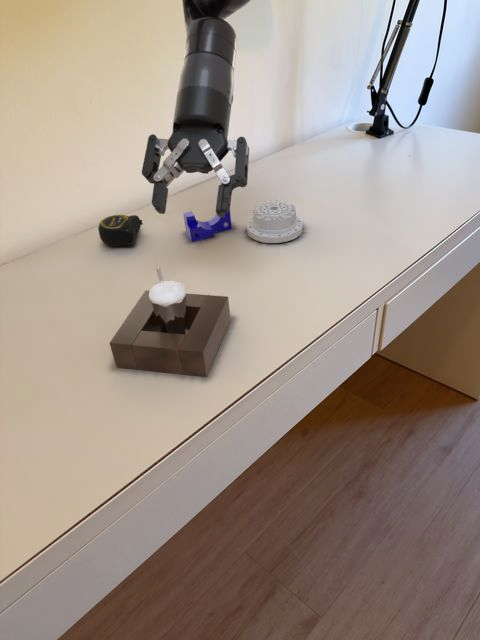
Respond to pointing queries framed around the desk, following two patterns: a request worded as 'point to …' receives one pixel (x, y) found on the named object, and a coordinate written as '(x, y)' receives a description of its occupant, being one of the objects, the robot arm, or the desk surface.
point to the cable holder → (205, 226)
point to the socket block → (172, 337)
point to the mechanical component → (274, 222)
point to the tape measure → (119, 229)
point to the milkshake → (170, 306)
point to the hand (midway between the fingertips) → (189, 213)
